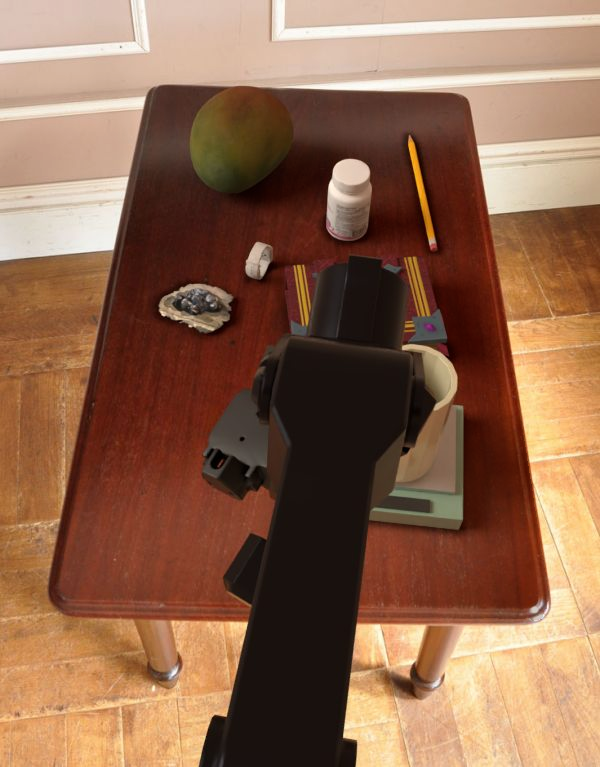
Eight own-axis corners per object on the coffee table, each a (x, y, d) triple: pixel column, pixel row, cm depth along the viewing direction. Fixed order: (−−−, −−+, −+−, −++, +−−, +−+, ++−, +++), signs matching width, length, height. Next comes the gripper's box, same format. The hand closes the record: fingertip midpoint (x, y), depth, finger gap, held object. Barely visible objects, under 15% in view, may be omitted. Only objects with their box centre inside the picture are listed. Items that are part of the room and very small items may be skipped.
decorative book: (282, 290, 92) (283, 259, 88) (429, 279, 94) (436, 248, 90) (294, 377, 86) (295, 348, 82) (451, 364, 88) (459, 335, 83)
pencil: (430, 252, 96) (431, 247, 96) (405, 136, 107) (406, 132, 106) (437, 251, 96) (438, 247, 96) (412, 136, 107) (412, 132, 106)
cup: (414, 495, 76) (435, 426, 66) (349, 460, 78) (360, 388, 68) (446, 440, 79) (471, 366, 69) (384, 408, 81) (398, 332, 71)
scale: (458, 530, 78) (464, 517, 75) (326, 515, 78) (328, 502, 76) (459, 417, 84) (464, 402, 82) (337, 404, 85) (339, 389, 82)
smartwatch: (260, 288, 93) (260, 263, 89) (242, 282, 93) (241, 257, 90) (273, 265, 94) (273, 240, 91) (255, 259, 95) (255, 234, 92)
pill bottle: (327, 210, 99) (331, 153, 92) (368, 213, 99) (375, 157, 92) (324, 240, 97) (327, 185, 90) (366, 244, 96) (373, 189, 89)
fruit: (296, 143, 105) (298, 73, 97) (285, 216, 99) (285, 148, 90) (203, 134, 106) (196, 65, 98) (184, 207, 99) (176, 138, 91)
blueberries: (228, 338, 89) (227, 327, 87) (151, 332, 89) (149, 320, 87) (236, 288, 92) (236, 277, 91) (163, 282, 93) (161, 270, 91)
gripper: (300, 276, 55) (302, 369, 70) (134, 523, 49) (174, 568, 64) (455, 357, 53) (424, 436, 67) (300, 625, 47) (302, 648, 62)
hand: (330, 517), depth 65 cm, fingers open, 9 cm apart
